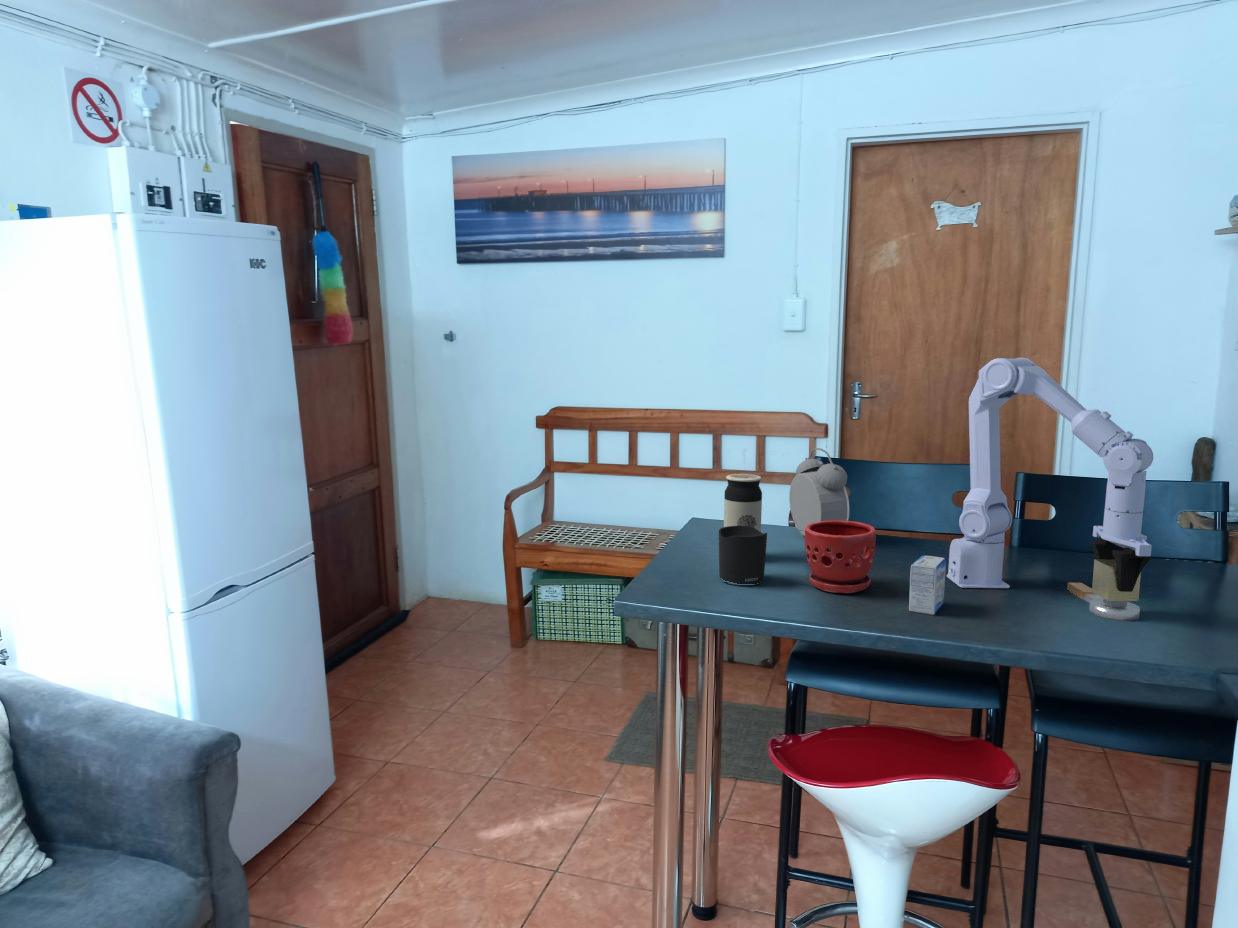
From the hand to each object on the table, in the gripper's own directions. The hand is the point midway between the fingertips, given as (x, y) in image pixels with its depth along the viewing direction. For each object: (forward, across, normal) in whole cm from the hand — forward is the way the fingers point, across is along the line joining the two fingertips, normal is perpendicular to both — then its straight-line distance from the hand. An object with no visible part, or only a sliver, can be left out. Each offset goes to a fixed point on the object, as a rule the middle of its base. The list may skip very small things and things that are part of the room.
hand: (1116, 586), depth 149 cm
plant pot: (+5, +14, +45) cm, 47 cm away
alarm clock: (+5, +53, +41) cm, 67 cm away
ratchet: (+5, +5, 0) cm, 7 cm away
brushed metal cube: (+2, 0, 0) cm, 2 cm away
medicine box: (+5, +2, +32) cm, 32 cm away
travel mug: (+5, +35, +61) cm, 71 cm away
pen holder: (+5, +18, +63) cm, 66 cm away
